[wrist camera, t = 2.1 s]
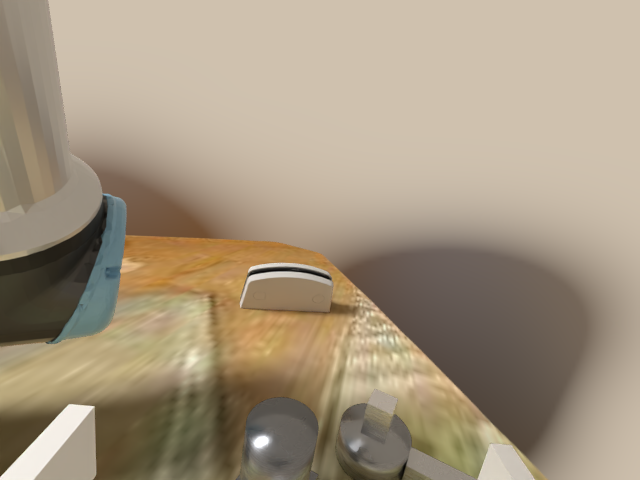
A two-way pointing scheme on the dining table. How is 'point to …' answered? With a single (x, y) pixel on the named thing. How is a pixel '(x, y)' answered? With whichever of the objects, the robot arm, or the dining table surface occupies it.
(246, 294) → the hinge
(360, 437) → the ratchet
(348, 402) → the dining table surface
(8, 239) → the robot arm
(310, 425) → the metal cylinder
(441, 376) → the dining table surface
